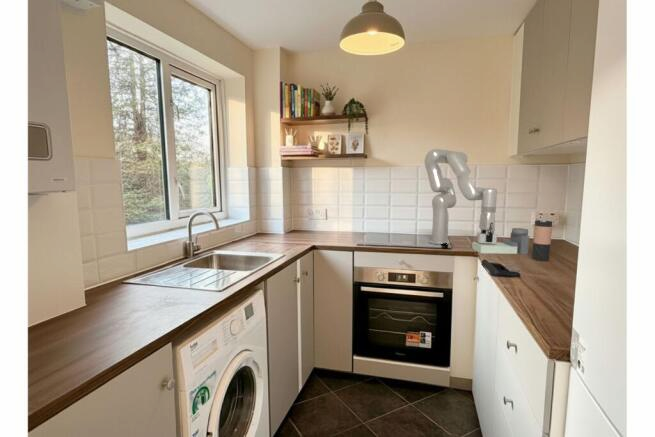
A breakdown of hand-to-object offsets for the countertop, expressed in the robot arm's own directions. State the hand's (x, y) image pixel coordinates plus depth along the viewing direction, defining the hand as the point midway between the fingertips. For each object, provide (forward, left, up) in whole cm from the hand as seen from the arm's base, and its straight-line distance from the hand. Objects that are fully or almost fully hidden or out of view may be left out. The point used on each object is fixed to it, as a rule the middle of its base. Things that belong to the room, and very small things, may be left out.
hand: (486, 240), depth 192 cm
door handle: (+43, -11, -7) cm, 45 cm away
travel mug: (+19, +20, -6) cm, 28 cm away
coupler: (0, +9, -6) cm, 11 cm away
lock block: (0, 0, -1) cm, 1 cm away
